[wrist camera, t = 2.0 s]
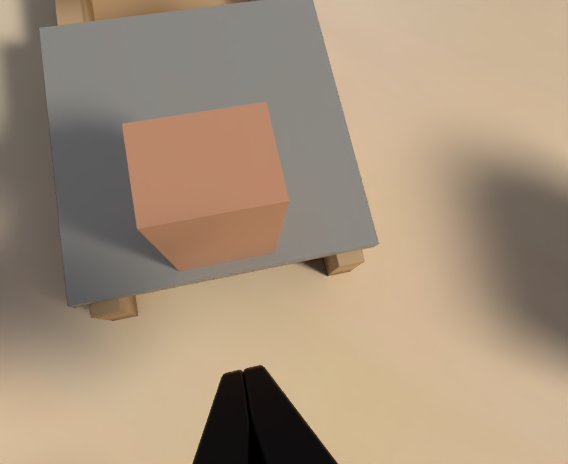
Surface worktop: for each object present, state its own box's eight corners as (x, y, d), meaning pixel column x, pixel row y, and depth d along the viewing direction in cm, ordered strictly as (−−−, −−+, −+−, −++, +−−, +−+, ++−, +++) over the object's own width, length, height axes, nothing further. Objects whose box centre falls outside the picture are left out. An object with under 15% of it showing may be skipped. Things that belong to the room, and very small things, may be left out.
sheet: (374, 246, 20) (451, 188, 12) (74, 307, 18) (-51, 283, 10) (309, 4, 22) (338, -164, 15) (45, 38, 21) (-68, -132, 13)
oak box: (350, 271, 23) (364, 261, 20) (112, 320, 21) (90, 317, 18) (270, -43, 27) (273, -89, 24) (70, -20, 26) (47, -67, 23)
